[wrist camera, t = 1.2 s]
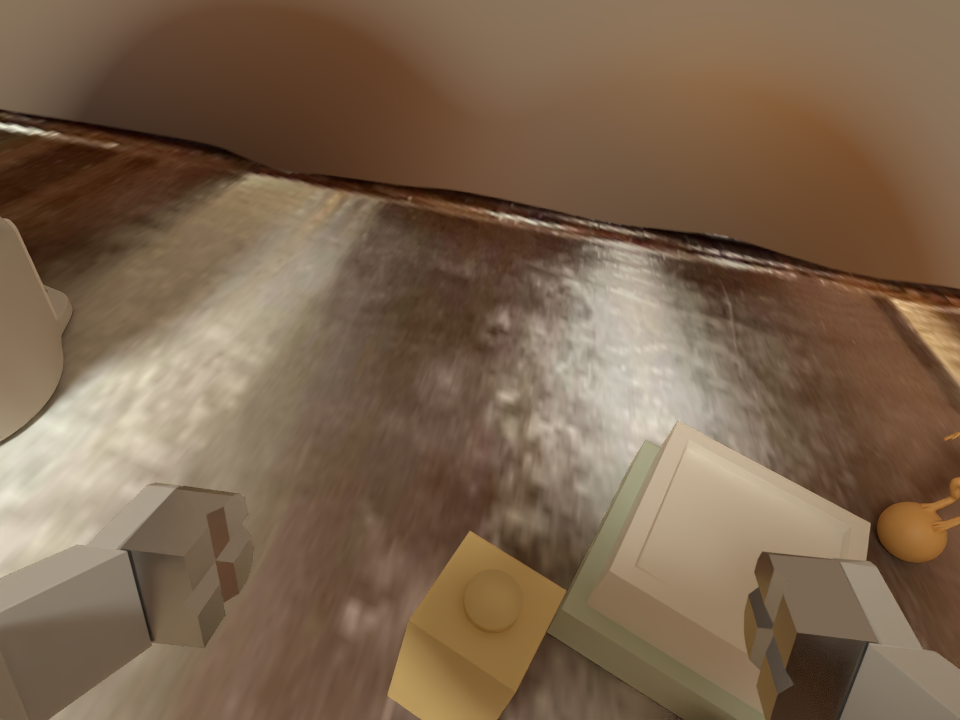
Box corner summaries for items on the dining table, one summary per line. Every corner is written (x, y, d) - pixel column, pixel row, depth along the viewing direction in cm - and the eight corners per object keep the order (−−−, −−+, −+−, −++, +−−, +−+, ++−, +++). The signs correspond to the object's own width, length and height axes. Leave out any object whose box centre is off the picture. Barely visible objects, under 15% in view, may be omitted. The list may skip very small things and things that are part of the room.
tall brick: (387, 695, 33) (411, 611, 27) (439, 614, 37) (473, 521, 30) (472, 755, 32) (520, 684, 25) (518, 666, 36) (572, 582, 29)
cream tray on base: (546, 632, 37) (583, 575, 32) (629, 465, 47) (667, 403, 42) (787, 786, 34) (867, 748, 29) (824, 574, 44) (889, 519, 39)
